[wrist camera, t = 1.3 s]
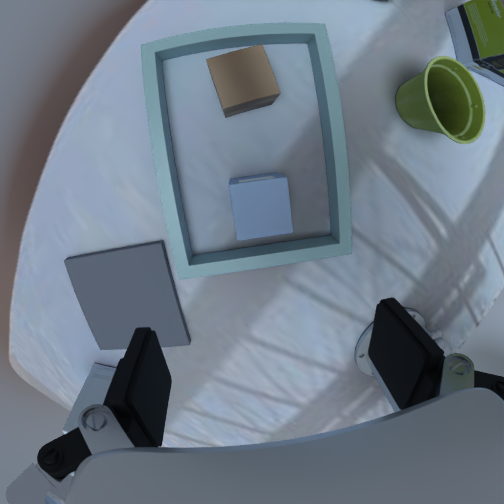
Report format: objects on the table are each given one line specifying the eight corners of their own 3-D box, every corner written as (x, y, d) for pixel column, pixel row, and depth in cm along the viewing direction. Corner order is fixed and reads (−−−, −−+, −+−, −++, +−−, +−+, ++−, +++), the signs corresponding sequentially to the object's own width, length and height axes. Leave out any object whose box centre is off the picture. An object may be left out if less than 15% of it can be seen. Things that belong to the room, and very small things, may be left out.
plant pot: (398, 149, 28) (443, 152, 20) (371, 75, 25) (411, 58, 17) (447, 133, 28) (492, 135, 20) (425, 67, 25) (467, 55, 16)
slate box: (276, 172, 29) (287, 177, 23) (282, 217, 31) (292, 232, 25) (229, 178, 29) (228, 184, 23) (236, 224, 31) (237, 241, 25)
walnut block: (256, 64, 25) (262, 44, 19) (271, 104, 26) (280, 92, 21) (211, 76, 25) (206, 59, 19) (225, 117, 27) (223, 108, 21)
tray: (317, 33, 23) (325, 23, 21) (342, 245, 32) (351, 253, 29) (148, 53, 23) (140, 45, 20) (183, 268, 32) (178, 279, 29)
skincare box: (100, 385, 38) (72, 452, 24) (94, 359, 36) (58, 430, 22) (146, 395, 39) (126, 469, 25) (143, 371, 37) (118, 450, 23)
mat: (163, 240, 31) (161, 243, 30) (190, 340, 35) (189, 345, 35) (67, 257, 30) (63, 260, 30) (102, 345, 35) (100, 349, 34)
